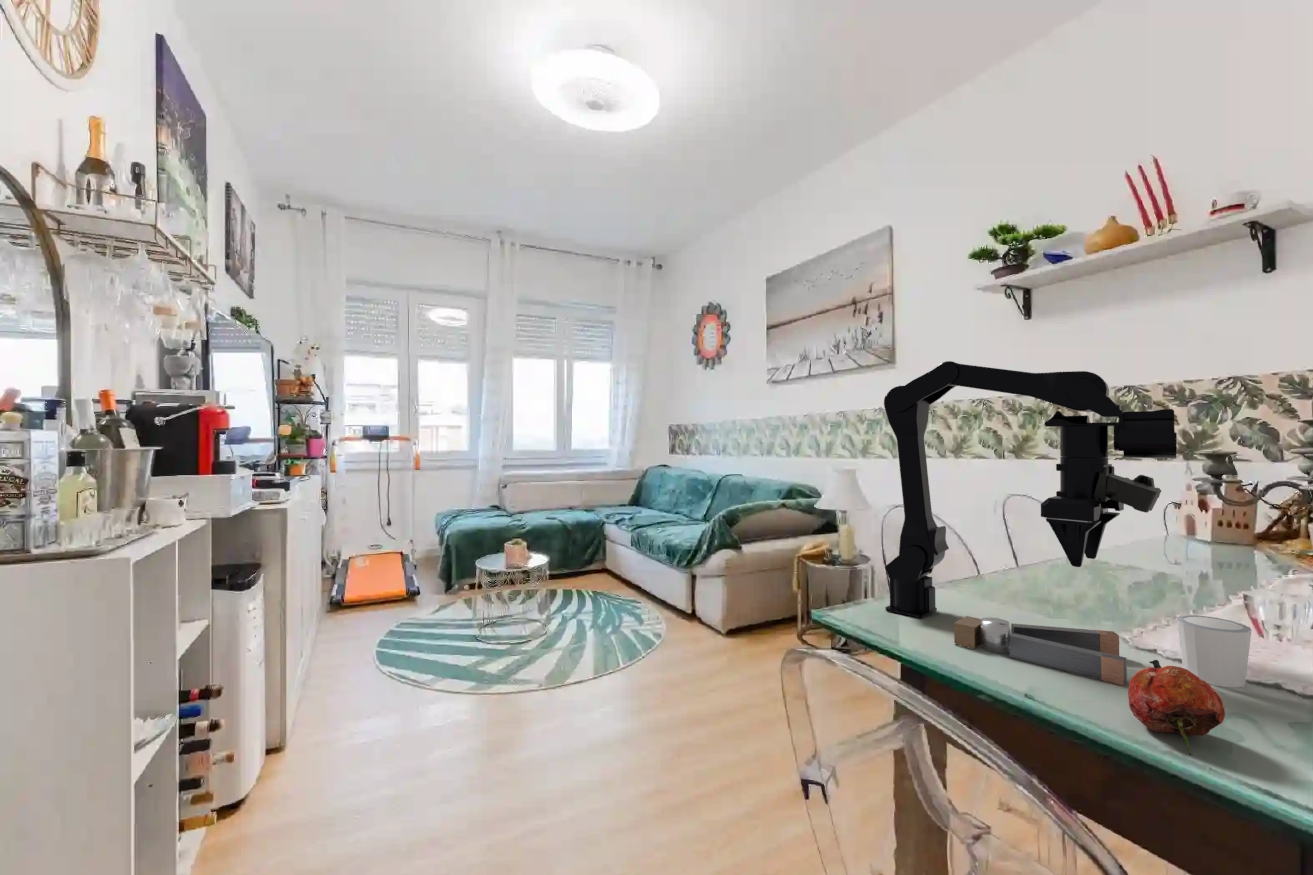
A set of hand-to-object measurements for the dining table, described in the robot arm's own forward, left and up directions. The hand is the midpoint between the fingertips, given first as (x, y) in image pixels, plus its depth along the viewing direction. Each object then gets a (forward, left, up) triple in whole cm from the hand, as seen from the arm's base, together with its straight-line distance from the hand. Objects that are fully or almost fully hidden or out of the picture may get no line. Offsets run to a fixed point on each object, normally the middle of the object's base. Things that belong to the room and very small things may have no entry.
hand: (1084, 562), depth 85 cm
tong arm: (-1, -7, -12) cm, 14 cm away
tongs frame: (-3, -12, -12) cm, 17 cm away
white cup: (+14, -3, -12) cm, 19 cm away
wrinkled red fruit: (+13, -25, -12) cm, 31 cm away
